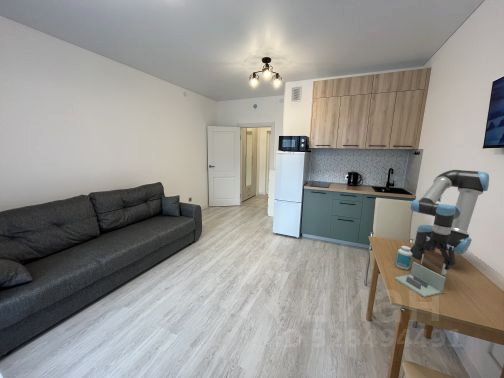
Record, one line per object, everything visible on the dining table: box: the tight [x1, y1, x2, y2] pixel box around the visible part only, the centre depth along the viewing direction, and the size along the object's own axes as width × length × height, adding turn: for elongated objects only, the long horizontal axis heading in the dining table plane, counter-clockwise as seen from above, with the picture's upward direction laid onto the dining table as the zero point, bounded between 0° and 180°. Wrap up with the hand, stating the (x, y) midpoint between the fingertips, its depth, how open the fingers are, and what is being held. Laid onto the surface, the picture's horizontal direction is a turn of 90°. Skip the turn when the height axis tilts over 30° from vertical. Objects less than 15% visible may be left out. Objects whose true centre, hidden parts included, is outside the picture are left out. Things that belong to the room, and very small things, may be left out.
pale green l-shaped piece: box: [393, 261, 446, 298], centre depth 115 cm, size 14×16×9 cm
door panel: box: [421, 250, 445, 277], centre depth 120 cm, size 3×10×12 cm, turn 18°
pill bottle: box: [395, 245, 413, 270], centre depth 134 cm, size 8×7×14 cm
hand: (432, 268), depth 121 cm, fingers closed on door panel, 10 cm apart
